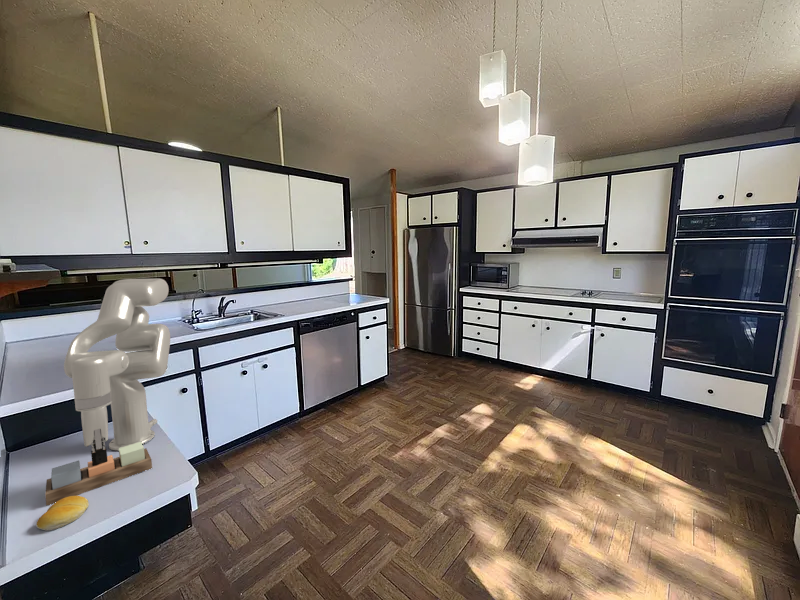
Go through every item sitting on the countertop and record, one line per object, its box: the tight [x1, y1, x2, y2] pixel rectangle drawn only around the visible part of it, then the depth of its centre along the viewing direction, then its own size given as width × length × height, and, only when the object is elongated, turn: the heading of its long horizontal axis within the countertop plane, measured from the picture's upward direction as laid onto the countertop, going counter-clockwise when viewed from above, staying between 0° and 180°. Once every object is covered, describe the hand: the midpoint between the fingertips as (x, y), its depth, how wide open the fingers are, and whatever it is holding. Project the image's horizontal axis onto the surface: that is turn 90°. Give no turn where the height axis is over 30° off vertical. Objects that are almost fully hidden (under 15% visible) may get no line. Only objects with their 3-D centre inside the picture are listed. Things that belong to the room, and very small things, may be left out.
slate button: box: [50, 459, 81, 490], centre depth 91 cm, size 5×5×4 cm
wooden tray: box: [44, 447, 153, 506], centre depth 96 cm, size 22×9×3 cm, turn 135°
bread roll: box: [36, 495, 90, 532], centre depth 81 cm, size 8×9×4 cm
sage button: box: [118, 442, 145, 467], centre depth 101 cm, size 5×5×4 cm
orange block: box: [87, 454, 115, 478], centre depth 96 cm, size 5×5×4 cm
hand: (100, 463), depth 95 cm, fingers closed
